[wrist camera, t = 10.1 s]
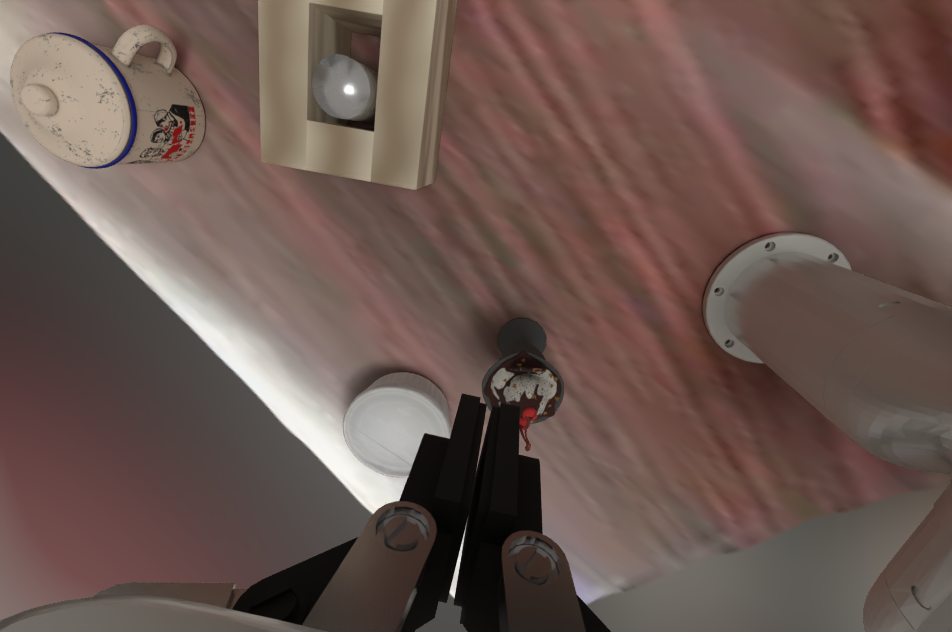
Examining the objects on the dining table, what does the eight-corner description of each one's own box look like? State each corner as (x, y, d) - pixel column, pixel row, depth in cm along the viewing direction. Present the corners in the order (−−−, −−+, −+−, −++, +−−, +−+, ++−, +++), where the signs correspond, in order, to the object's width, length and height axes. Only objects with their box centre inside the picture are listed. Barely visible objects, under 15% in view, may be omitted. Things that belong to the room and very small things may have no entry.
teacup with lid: (179, 185, 43) (64, 197, 32) (98, 113, 41) (-53, 101, 30) (245, 85, 39) (140, 62, 28) (158, 1, 37) (11, -58, 26)
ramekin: (360, 441, 52) (343, 472, 47) (358, 357, 48) (339, 381, 43) (453, 453, 51) (446, 485, 46) (459, 368, 47) (452, 394, 42)
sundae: (521, 380, 47) (522, 479, 33) (476, 339, 46) (458, 423, 32) (568, 341, 45) (590, 429, 31) (523, 297, 44) (524, 367, 30)
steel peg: (398, 76, 37) (370, 59, 30) (394, 127, 38) (365, 123, 31) (351, 68, 37) (312, 49, 30) (349, 119, 38) (311, 113, 31)
